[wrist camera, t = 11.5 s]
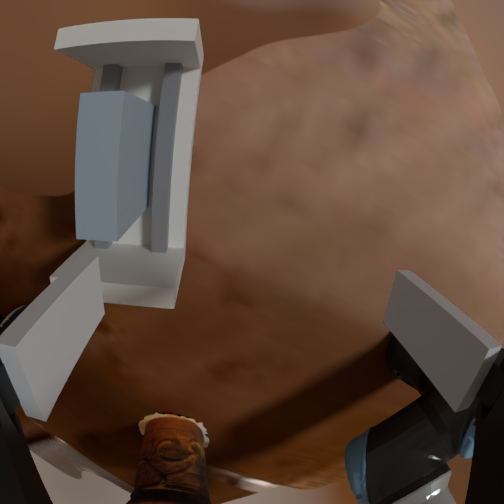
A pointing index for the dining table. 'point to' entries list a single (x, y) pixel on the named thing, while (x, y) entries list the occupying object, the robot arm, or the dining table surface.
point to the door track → (163, 147)
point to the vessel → (171, 462)
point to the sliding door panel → (112, 163)
